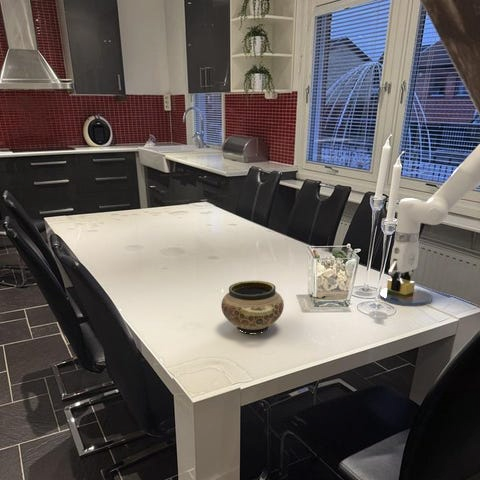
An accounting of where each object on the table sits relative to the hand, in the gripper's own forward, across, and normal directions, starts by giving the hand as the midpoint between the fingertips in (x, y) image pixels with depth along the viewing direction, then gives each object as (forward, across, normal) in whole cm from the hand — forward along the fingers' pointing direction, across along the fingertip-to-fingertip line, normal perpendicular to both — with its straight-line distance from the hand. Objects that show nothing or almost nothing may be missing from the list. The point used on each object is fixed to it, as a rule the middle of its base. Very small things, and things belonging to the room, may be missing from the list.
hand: (400, 288), depth 162 cm
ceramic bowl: (+3, -58, +10) cm, 59 cm away
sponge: (+2, 0, 0) cm, 2 cm away
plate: (+3, 0, -2) cm, 4 cm away
